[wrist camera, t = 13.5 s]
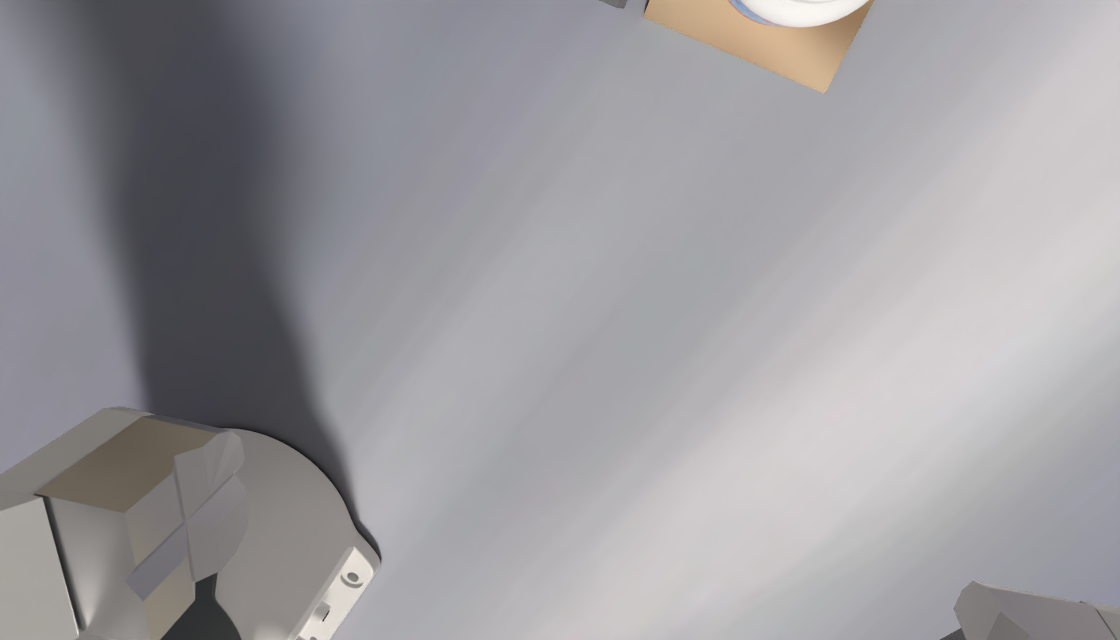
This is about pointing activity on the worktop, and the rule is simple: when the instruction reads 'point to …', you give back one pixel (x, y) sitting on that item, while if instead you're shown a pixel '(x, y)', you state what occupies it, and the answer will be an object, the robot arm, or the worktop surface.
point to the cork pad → (764, 38)
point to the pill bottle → (795, 11)
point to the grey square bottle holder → (615, 3)
